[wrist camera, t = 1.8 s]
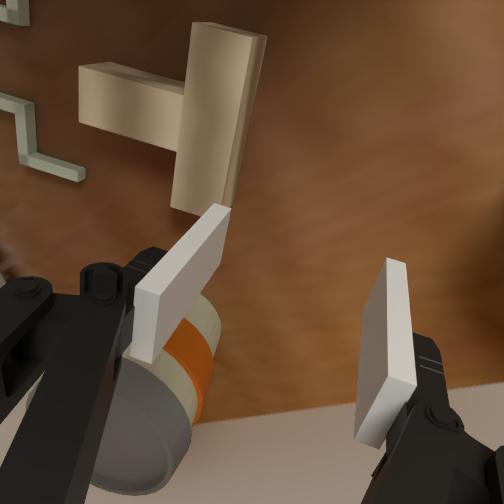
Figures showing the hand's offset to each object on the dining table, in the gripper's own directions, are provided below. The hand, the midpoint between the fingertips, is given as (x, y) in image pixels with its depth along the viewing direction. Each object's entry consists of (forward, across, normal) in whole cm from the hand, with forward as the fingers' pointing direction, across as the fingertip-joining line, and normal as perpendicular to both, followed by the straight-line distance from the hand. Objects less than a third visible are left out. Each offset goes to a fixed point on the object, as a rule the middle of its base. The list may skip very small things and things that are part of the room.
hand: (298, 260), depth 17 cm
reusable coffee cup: (+17, -10, -21) cm, 29 cm away
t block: (+17, -13, 0) cm, 21 cm away
